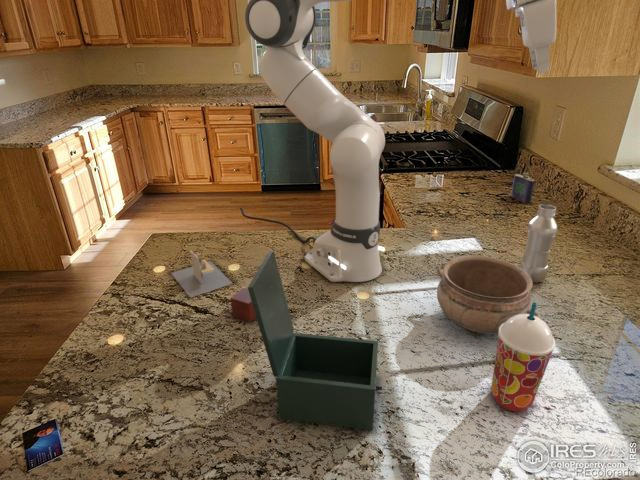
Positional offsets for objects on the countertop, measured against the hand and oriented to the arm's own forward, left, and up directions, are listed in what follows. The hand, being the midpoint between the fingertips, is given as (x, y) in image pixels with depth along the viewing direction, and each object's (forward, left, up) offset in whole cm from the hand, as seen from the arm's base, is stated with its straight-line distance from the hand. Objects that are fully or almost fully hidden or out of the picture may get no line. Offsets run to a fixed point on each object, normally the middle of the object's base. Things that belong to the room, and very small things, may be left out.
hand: (540, 70), depth 82 cm
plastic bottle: (+3, +13, -51) cm, 53 cm away
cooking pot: (+3, -14, -51) cm, 53 cm away
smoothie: (+18, -30, -51) cm, 62 cm away
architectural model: (-57, -49, -51) cm, 91 cm away
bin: (-4, -52, -51) cm, 73 cm away
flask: (-25, +69, -51) cm, 90 cm away
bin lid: (-11, -58, -34) cm, 68 cm away
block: (-35, -49, -51) cm, 79 cm away
